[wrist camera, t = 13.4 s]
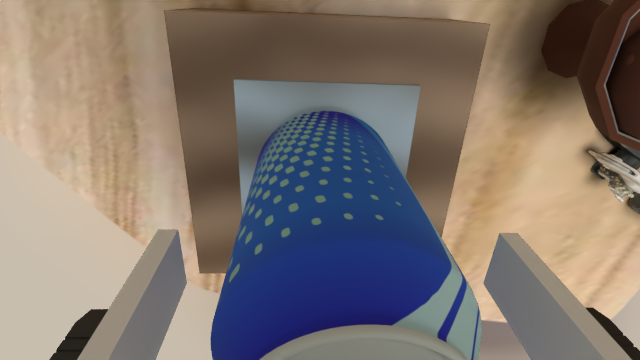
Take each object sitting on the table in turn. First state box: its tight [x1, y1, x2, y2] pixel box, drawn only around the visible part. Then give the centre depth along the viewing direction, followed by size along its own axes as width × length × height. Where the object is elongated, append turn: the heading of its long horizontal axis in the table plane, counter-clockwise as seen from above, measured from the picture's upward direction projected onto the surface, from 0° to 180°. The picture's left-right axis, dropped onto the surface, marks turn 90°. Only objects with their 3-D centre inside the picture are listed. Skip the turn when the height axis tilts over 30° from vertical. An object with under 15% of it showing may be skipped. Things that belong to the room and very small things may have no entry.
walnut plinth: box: [164, 8, 490, 273], centre depth 26 cm, size 18×18×6 cm
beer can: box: [211, 111, 482, 360], centre depth 16 cm, size 8×8×16 cm
